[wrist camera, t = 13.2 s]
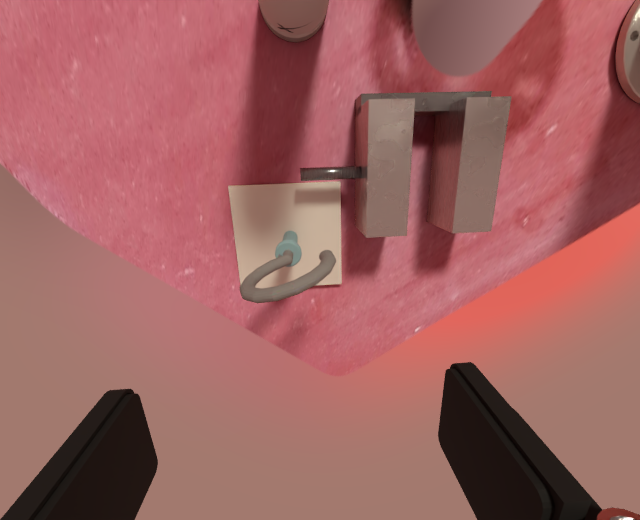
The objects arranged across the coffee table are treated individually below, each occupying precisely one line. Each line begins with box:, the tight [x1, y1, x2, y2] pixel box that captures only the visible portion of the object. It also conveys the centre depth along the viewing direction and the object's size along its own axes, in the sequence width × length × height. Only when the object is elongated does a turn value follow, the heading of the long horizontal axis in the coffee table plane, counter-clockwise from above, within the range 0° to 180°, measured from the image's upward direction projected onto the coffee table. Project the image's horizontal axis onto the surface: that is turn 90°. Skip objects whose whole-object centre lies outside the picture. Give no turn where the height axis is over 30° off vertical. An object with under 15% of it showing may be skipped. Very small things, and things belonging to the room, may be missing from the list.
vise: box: [300, 91, 511, 238], centre depth 30 cm, size 19×13×6 cm
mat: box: [228, 181, 342, 288], centre depth 34 cm, size 12×12×1 cm
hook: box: [240, 231, 336, 303], centre depth 27 cm, size 8×2×15 cm, turn 108°
